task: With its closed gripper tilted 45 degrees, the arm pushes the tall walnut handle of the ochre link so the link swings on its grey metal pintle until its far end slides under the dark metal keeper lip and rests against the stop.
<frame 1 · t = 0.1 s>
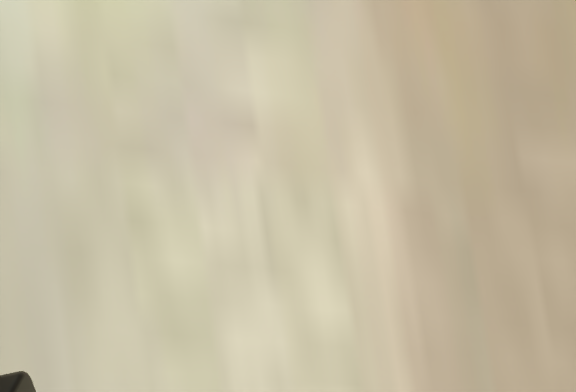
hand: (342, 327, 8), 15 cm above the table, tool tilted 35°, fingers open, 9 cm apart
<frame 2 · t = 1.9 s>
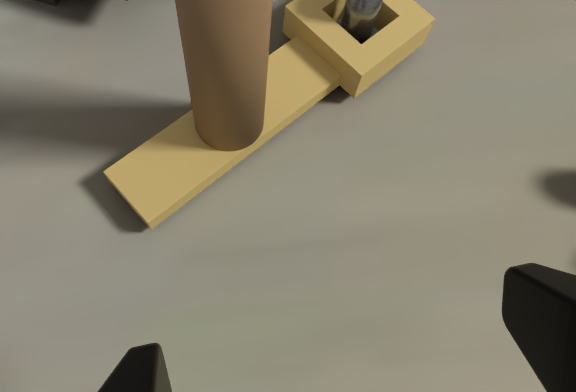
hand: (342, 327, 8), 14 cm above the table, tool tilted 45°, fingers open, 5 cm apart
link: (278, 10, 20), point 6 cm above the table, hinge at 60.0°
pintle: (351, 44, 27), on the table
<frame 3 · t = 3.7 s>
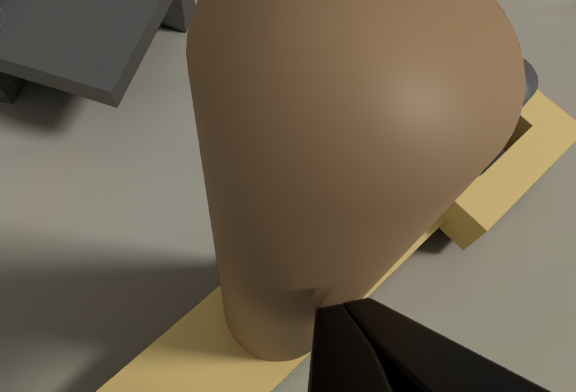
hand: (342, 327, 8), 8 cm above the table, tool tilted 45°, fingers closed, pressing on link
link: (385, 171, 11), point 6 cm above the table, hinge at 60.0°, touching gripper
pintle: (447, 156, 19), on the table
keeper: (70, 13, 18), on the table
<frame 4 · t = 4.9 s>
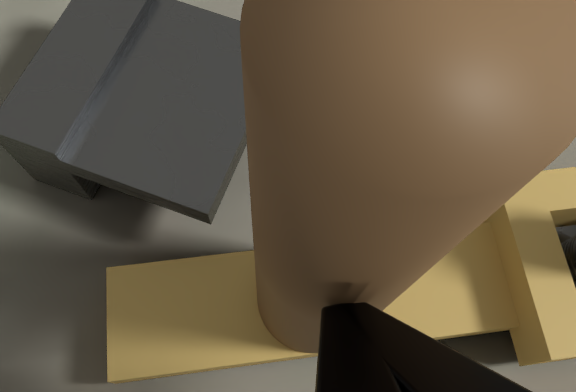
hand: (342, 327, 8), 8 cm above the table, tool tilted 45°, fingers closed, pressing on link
link: (464, 225, 10), point 6 cm above the table, hinge at 27.6°, touching gripper
pintle: (566, 271, 17), on the table
keeper: (157, 106, 16), on the table
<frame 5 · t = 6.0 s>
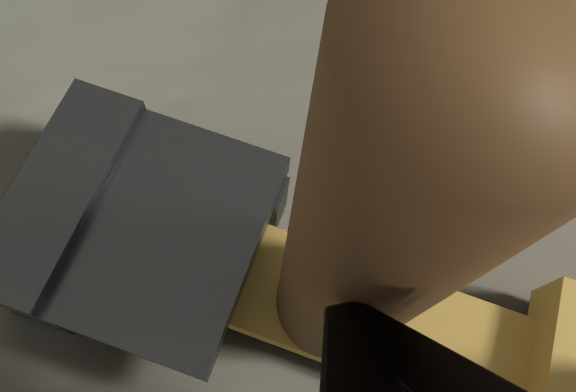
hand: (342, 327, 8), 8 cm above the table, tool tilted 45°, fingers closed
link: (498, 293, 10), point 6 cm above the table, hinge at -0.3°, touching gripper
keeper: (146, 234, 15), on the table
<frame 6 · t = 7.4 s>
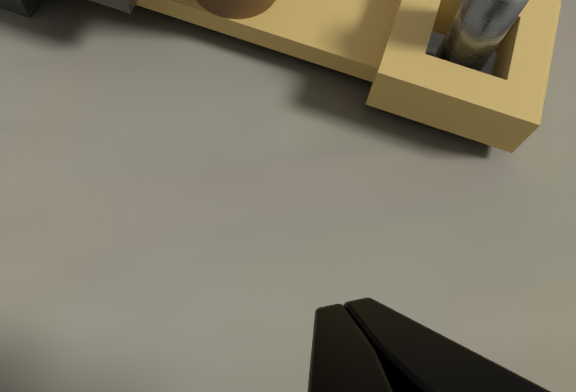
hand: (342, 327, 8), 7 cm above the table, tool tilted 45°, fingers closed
pintle: (448, 77, 19), on the table
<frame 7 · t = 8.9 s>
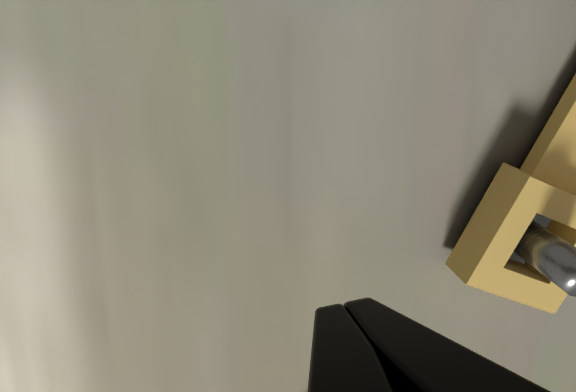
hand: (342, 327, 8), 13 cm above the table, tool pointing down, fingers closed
pintle: (510, 226, 24), on the table
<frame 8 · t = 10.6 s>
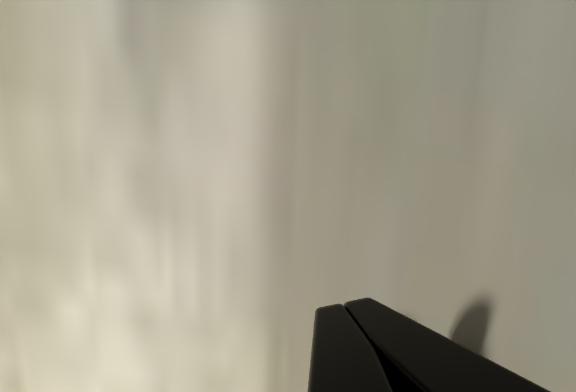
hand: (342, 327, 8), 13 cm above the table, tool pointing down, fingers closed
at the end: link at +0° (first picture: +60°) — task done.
